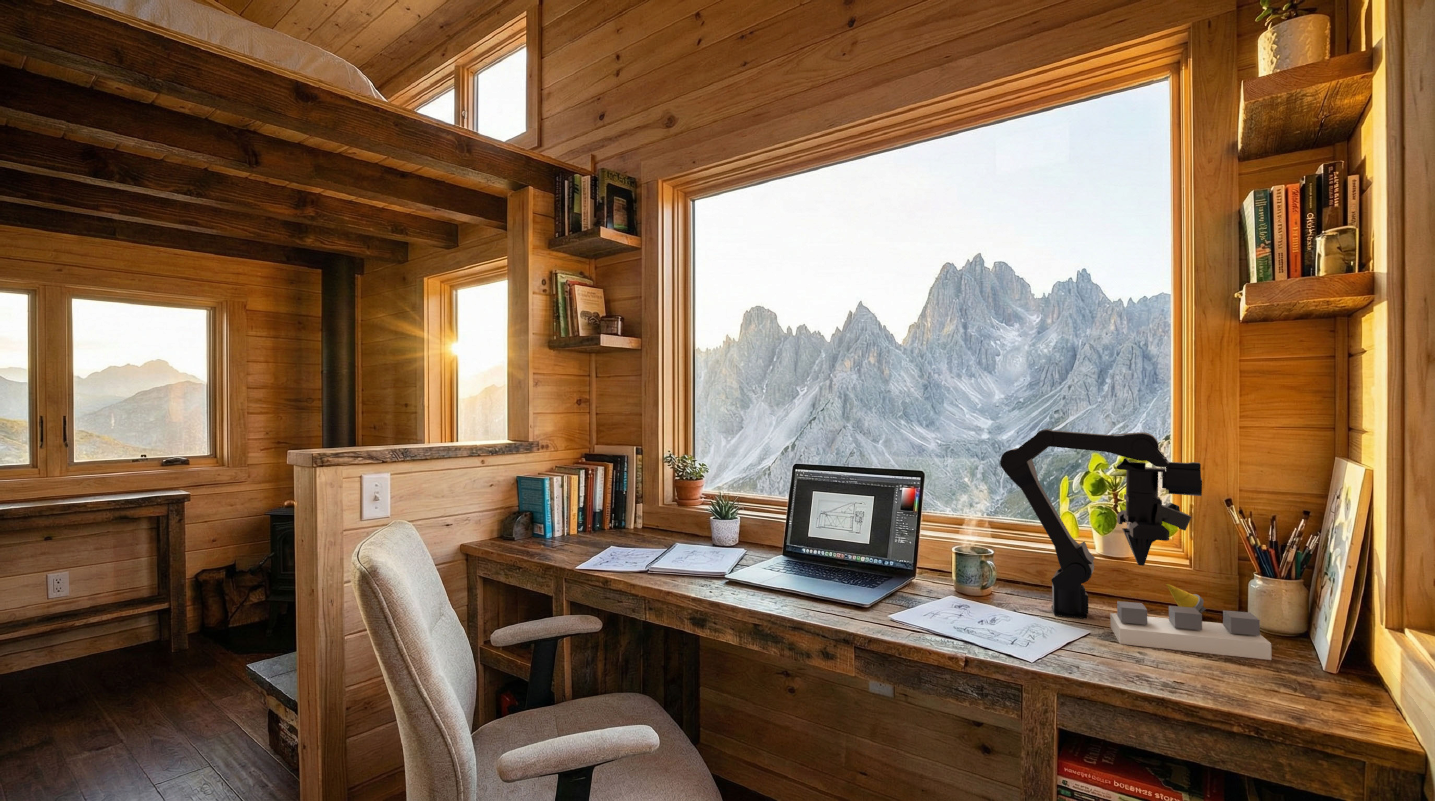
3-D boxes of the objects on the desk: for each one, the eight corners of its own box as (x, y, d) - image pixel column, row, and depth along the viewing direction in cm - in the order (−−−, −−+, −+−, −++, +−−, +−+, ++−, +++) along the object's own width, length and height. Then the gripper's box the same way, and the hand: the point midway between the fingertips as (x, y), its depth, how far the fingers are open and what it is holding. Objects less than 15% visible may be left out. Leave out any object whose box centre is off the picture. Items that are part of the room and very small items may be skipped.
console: (1120, 643, 129) (1119, 628, 129) (1110, 627, 139) (1110, 612, 139) (1271, 659, 121) (1271, 643, 121) (1250, 641, 130) (1250, 625, 130)
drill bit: (1210, 623, 142) (1172, 590, 143) (1188, 626, 146) (1152, 594, 148) (1217, 604, 144) (1180, 572, 145) (1196, 608, 149) (1160, 576, 150)
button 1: (1121, 637, 132) (1121, 607, 132) (1117, 630, 136) (1117, 601, 136) (1147, 640, 130) (1147, 609, 130) (1142, 632, 134) (1142, 603, 134)
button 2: (1231, 648, 125) (1231, 617, 125) (1223, 640, 129) (1223, 610, 129) (1259, 651, 123) (1259, 619, 123) (1250, 643, 128) (1250, 612, 128)
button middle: (1175, 642, 128) (1174, 612, 128) (1169, 635, 132) (1168, 605, 132) (1202, 645, 127) (1201, 614, 127) (1195, 637, 131) (1194, 607, 131)
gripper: (1200, 501, 128) (1199, 580, 128) (1175, 488, 145) (1174, 558, 146) (1134, 497, 132) (1132, 574, 133) (1117, 485, 150) (1116, 553, 150)
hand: (1140, 565), depth 140 cm, fingers closed
